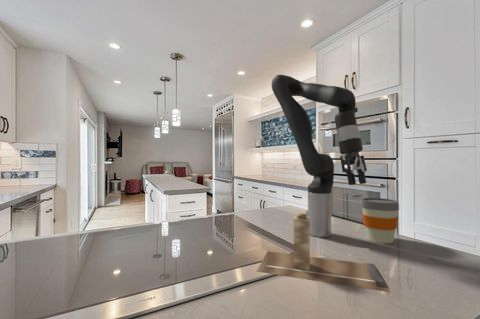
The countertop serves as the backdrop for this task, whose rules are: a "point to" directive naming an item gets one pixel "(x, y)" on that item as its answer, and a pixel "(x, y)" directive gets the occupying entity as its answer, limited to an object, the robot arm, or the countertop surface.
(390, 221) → the reusable coffee cup
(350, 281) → the walnut board
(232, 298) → the countertop surface
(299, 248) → the wooden pepper mill
